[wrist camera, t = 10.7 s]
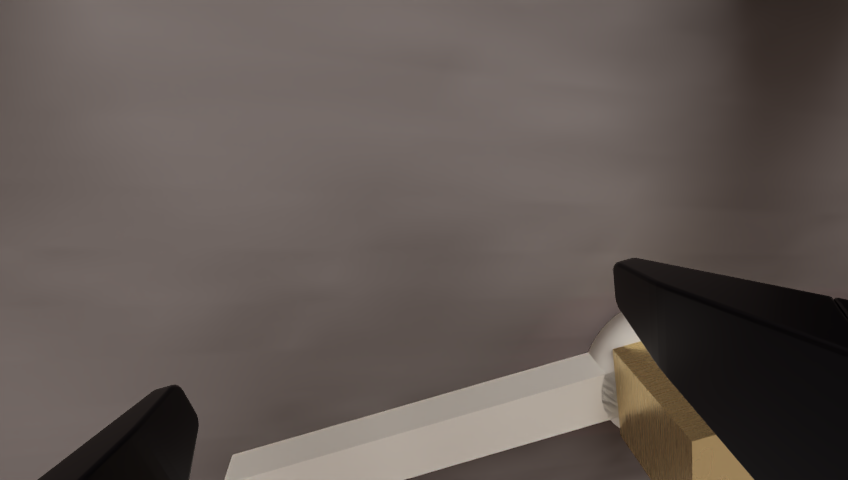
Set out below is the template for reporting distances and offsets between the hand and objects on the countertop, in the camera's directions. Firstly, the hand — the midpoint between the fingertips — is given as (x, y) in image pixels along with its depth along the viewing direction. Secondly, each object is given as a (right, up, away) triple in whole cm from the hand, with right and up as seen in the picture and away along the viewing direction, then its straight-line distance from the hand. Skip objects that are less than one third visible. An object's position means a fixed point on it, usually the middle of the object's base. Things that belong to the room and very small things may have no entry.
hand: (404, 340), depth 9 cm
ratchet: (+4, -7, +17) cm, 19 cm away
